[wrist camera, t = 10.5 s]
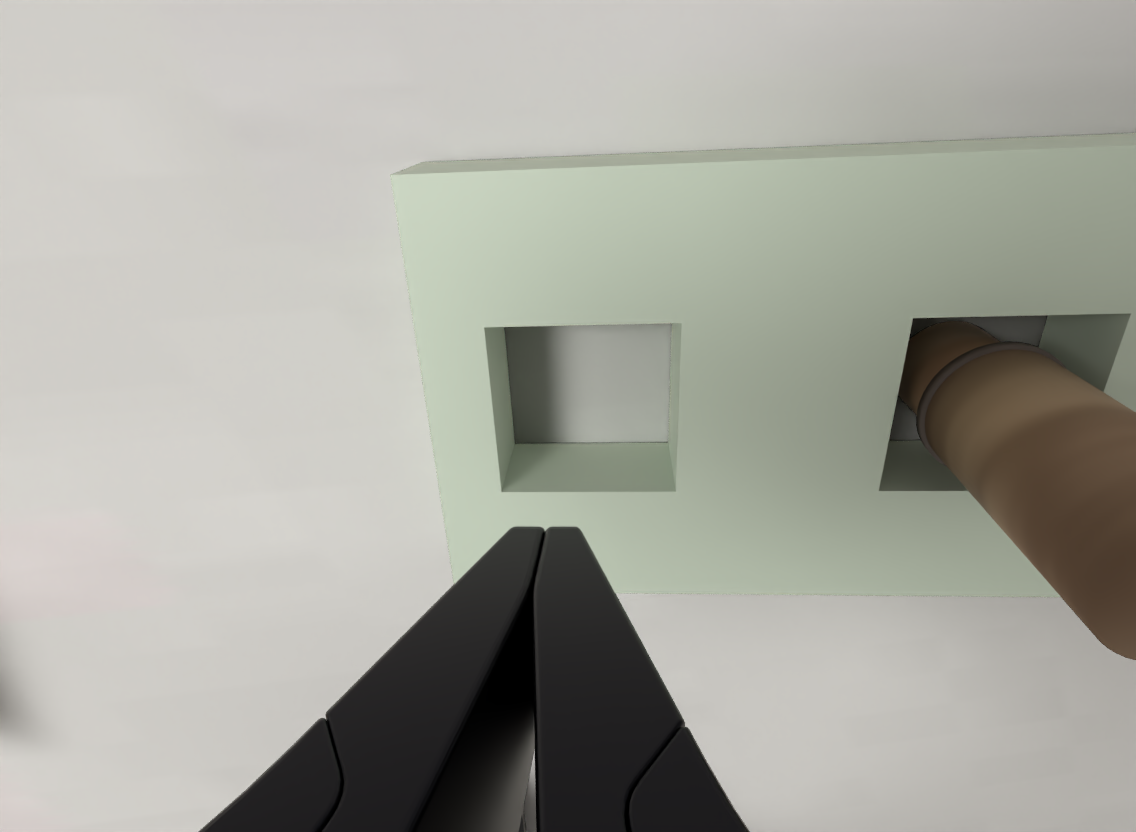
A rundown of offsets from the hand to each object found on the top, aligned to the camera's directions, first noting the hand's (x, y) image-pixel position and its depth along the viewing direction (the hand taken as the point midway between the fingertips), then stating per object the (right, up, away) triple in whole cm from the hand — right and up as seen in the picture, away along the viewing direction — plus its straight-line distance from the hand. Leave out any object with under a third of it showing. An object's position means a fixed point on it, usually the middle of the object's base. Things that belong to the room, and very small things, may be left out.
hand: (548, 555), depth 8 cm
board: (+6, +3, +13) cm, 14 cm away
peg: (+12, +3, +12) cm, 17 cm away
